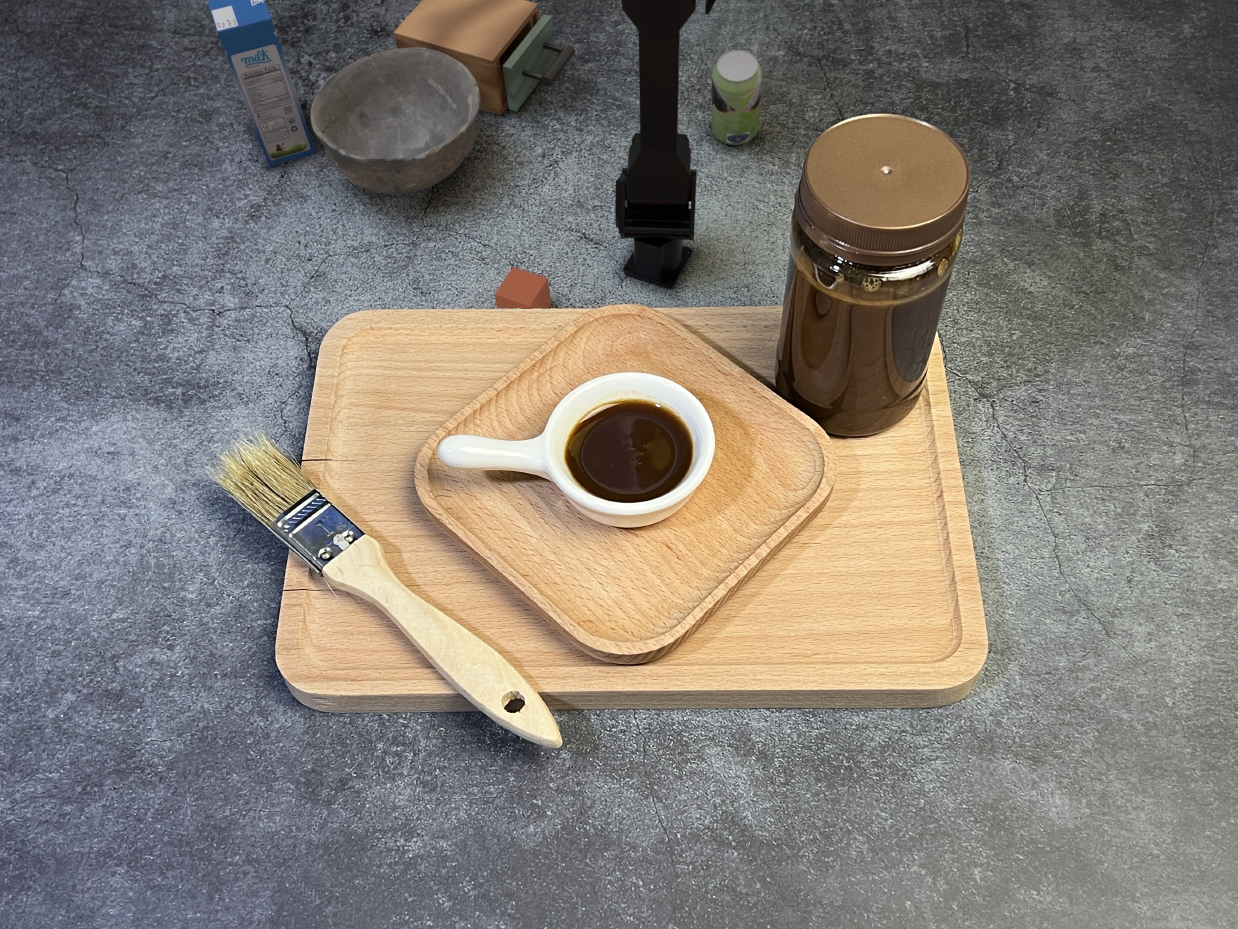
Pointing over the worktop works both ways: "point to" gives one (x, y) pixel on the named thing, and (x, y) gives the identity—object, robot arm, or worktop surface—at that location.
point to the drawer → (530, 62)
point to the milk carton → (263, 78)
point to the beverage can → (736, 97)
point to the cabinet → (469, 36)
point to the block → (523, 291)
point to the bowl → (398, 119)
